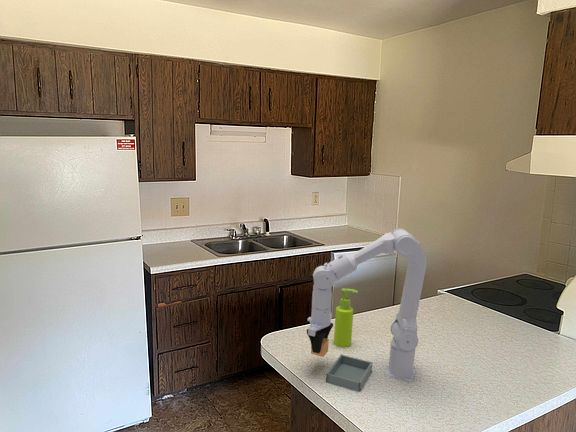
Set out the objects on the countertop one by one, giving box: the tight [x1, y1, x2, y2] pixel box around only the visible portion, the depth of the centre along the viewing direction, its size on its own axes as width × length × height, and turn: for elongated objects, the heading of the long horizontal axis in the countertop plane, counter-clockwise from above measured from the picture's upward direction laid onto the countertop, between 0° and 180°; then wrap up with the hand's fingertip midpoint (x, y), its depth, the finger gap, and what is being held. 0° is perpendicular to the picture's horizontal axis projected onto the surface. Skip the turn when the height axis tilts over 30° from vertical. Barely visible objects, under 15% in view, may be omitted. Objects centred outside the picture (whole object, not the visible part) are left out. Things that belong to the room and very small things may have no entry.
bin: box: [325, 354, 373, 392], centre depth 127 cm, size 13×10×3 cm
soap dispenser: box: [333, 287, 359, 349], centre depth 146 cm, size 6×7×20 cm
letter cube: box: [310, 338, 330, 358], centre depth 130 cm, size 4×4×4 cm
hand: (319, 349), depth 131 cm, fingers closed on letter cube, 4 cm apart
